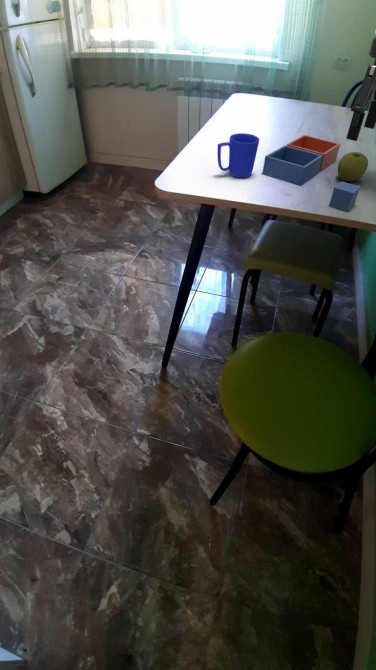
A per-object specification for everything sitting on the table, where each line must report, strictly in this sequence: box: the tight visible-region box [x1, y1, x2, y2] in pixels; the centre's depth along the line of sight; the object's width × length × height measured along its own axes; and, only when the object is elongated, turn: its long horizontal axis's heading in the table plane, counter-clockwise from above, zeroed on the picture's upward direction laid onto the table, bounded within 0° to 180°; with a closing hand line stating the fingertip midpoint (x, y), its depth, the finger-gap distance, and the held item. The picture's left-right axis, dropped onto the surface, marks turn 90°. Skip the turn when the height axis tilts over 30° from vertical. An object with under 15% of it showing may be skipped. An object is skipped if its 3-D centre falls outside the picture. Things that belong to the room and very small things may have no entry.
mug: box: [217, 132, 260, 178], centre depth 116 cm, size 8×12×10 cm
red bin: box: [286, 134, 341, 173], centre depth 128 cm, size 12×12×5 cm
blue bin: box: [261, 144, 323, 186], centre depth 120 cm, size 12×12×5 cm
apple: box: [337, 151, 369, 183], centre depth 118 cm, size 8×8×7 cm
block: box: [328, 181, 361, 213], centre depth 106 cm, size 5×5×5 cm
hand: (360, 133), depth 111 cm, fingers open, 13 cm apart
